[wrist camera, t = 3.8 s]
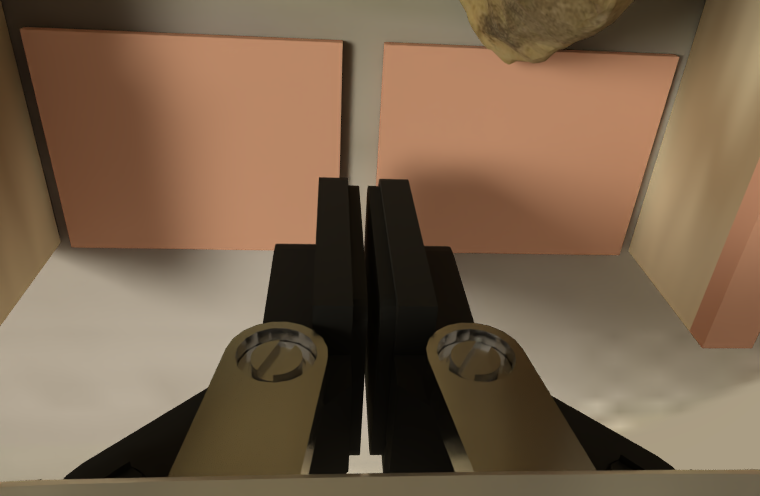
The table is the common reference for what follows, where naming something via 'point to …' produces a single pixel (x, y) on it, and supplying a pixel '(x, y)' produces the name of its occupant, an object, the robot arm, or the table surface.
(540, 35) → the rock
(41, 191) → the box
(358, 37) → the table surface
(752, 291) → the pads
